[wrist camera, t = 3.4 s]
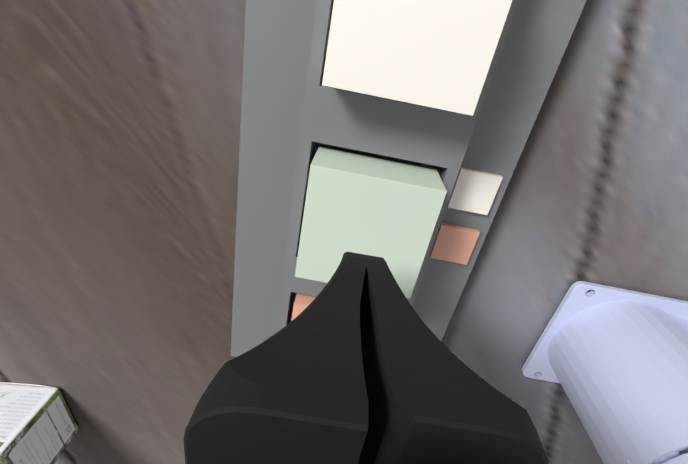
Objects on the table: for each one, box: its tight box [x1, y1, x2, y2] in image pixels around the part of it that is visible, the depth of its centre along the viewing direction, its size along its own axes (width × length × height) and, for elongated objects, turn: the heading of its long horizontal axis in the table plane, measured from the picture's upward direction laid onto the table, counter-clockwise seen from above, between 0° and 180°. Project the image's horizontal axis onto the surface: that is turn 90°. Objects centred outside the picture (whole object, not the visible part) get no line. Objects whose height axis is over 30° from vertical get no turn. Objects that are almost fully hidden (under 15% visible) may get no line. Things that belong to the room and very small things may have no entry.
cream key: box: [322, 0, 512, 116], centre depth 12 cm, size 5×5×2 cm
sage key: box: [295, 147, 447, 298], centre depth 16 cm, size 5×5×2 cm
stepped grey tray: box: [231, 0, 587, 357], centre depth 18 cm, size 13×26×4 cm, turn 169°
